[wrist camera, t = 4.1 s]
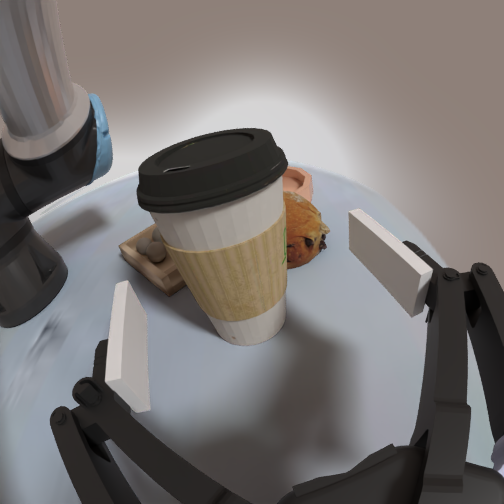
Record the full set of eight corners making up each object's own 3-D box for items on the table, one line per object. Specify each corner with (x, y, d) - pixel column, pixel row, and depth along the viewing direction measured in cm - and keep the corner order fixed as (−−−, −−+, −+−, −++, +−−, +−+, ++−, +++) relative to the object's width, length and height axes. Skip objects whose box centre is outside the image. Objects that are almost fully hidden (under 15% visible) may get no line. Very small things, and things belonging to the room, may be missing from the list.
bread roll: (295, 242, 41) (269, 188, 40) (353, 234, 32) (323, 167, 31) (239, 281, 37) (208, 221, 35) (292, 284, 28) (253, 205, 26)
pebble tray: (125, 260, 39) (115, 239, 37) (171, 231, 43) (164, 210, 41) (169, 296, 31) (157, 271, 29) (225, 256, 35) (218, 231, 33)
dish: (198, 210, 46) (194, 196, 45) (262, 175, 54) (259, 162, 52) (267, 234, 37) (264, 215, 36) (330, 188, 44) (329, 173, 43)
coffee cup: (313, 281, 29) (294, 120, 20) (296, 370, 21) (262, 168, 13) (217, 279, 32) (174, 137, 23) (179, 355, 24) (96, 190, 16)
